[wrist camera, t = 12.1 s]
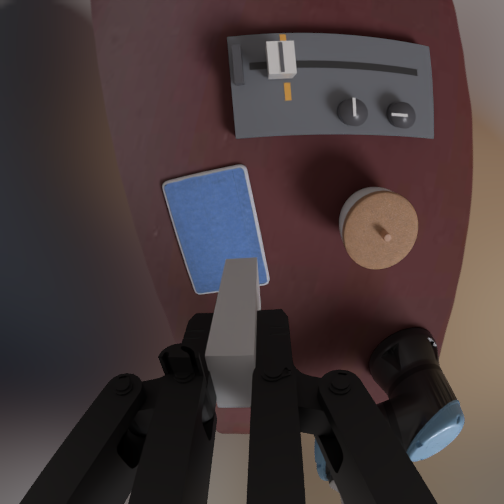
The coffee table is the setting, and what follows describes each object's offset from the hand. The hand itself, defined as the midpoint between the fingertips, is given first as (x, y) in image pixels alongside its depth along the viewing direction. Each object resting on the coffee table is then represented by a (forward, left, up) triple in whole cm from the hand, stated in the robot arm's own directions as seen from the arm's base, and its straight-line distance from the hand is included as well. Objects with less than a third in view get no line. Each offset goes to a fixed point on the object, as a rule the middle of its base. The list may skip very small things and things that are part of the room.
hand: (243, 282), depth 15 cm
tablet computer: (-9, +6, -30) cm, 32 cm away
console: (+12, -12, -29) cm, 34 cm away
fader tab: (+15, -4, -27) cm, 31 cm away
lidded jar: (-7, -16, -30) cm, 34 cm away
